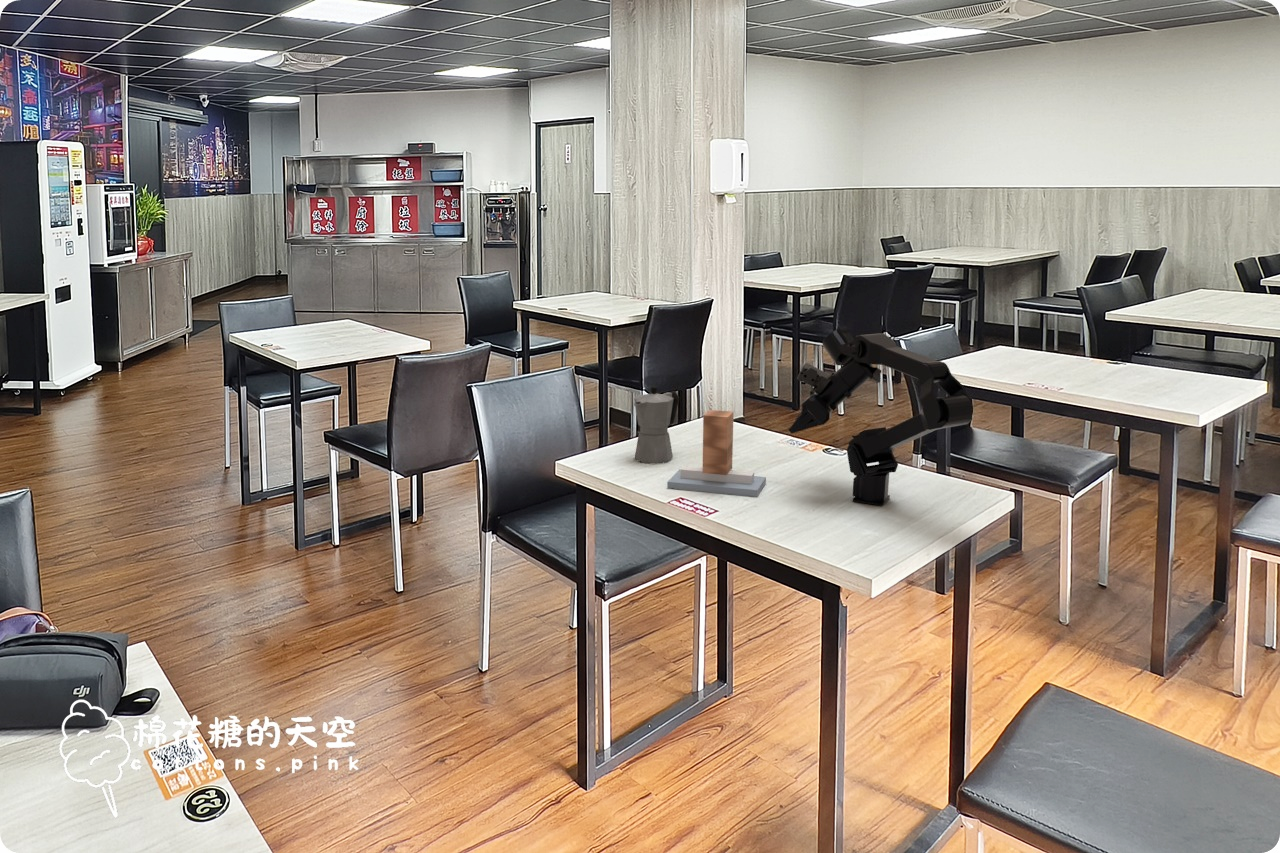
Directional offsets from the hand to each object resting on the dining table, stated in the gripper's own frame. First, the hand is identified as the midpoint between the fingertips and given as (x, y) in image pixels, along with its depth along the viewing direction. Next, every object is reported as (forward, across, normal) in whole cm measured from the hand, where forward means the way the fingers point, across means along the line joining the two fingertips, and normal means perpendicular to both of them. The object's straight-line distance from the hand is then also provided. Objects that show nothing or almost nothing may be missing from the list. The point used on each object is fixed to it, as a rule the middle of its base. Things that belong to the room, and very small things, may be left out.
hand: (793, 426), depth 220 cm
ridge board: (+21, +5, -2) cm, 21 cm away
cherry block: (+18, +5, -4) cm, 19 cm away
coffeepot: (+34, -13, -15) cm, 40 cm away
